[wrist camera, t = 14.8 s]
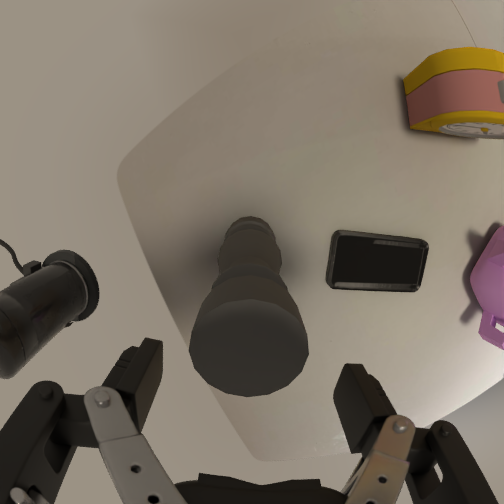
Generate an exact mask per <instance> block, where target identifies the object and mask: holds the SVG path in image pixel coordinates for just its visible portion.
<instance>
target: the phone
mask: <svg viewBox="0 0 504 504" xmlns="http://www.w3.org/2000/svg"><path fill="white" fill-rule="evenodd" d="M428 250H429V246H428V243H427V242H426V241H424V240H421V239H416V238H409V237H402V236H391V235H382V234H373V233H364V232H355V231H346V230H338V231H336V232H335V233H334V234H333V236H332V241H331V248H330V255H329V262H328V268H327V274H326V282H327V284H328V285H329V286H330V288H332V289H342V290H363V291H388V292H416V291H417V290H418V289H419V288H420V286H421V282H422V278H423V273H424V269H425V264H426V260H427V255H428Z"/></svg>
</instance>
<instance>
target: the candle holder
mask: <svg viewBox="0 0 504 504" xmlns="http://www.w3.org/2000/svg"><path fill="white" fill-rule="evenodd" d="M281 264H282V260H281V253H280V249H279V248H278V246H277V244H276V240H275V236H274V233H273V231H272V230H271V228H270V226H269V225H268V224H267V223H266V222H265V221H263V220H262V219H260V218H256V217H252V216H249V217H243V218H240V219H239V220H237V221H235V222H234V223H233V224H232V225H231V227H230V228H229V229H228V231H227V233H226V235H225V240H224V244H223V245H222V246H221V248H220V252H219V257H218V265H219V270H220V275H219V277H218V278H217V280H216V281H215V282H214V284H213V286H212V290H211V292H210V293H209V295H208V296H207V297H206V299H205V300H204V301H203V303H202V305H201V308H200V310H199V313H198V316H197V319H196V321H195V324H194V327H193V330H192V334H191V340H190V346H189V353H190V356H191V359H192V362H193V365H194V368H195V370H196V371H197V372H198V373H199V374H200V375H201V376H202V378H203V379H204V380H205V381H206V382H207V383H208V384H210V385H211V386H213V387H215V388H217V389H219V390H221V391H223V392H225V393H227V394H233V395H238V396H244V397H252V396H261V395H268V394H271V393H273V392H275V391H277V390H279V389H282V388H284V387H286V386H288V385H289V384H290V383H291V382H292V381H293V380H294V379H295V378H296V377H297V376H298V375H299V374H300V373H301V372H302V370H303V367H304V365H305V362H306V360H307V357H308V355H309V351H308V339H307V333H306V330H305V327H304V324H303V321H302V318H301V315H300V313H299V310H298V307H297V305H296V303H295V302H294V300H293V299H292V297H291V295H290V294H289V292H288V290H287V287H286V285H285V283H284V282H283V280H282V278H281V277H280V275H279V272H280V268H281Z"/></svg>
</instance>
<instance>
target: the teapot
mask: <svg viewBox="0 0 504 504" xmlns="http://www.w3.org/2000/svg"><path fill="white" fill-rule="evenodd" d="M470 282H471V286H472V289H473V291H474V294H475V296H476V298H477V300H478V302H479V304H480V306H481V307H482V309H483V314H482V319H481V324H480V328H479V332H478V333H479V334H480V336H481V337H482V339H484V340H486V341H488V342H490V343H491V344H493V345H495V346H497V347H499V348H501V349H503V350H504V333H502V332H501V331H499V330H498V329H496V328H495V326H496V322H497V323H498V324H500V325H502V326H504V226H502V227H500V228H498V229H497V230H496V232H495V233H494V235H493V236H492V238H491V239H490V241H489V243H488V244H487V246H486V248H485V249H484V251H483V253H482V254H481V256H480V258H479V260H478V261H477V263H476V265H475V267H474V268H473V270H472V273H471V275H470Z"/></svg>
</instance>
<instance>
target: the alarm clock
mask: <svg viewBox="0 0 504 504" xmlns="http://www.w3.org/2000/svg"><path fill="white" fill-rule="evenodd" d="M403 82H404V88H405V94H406V101H407V108H408V115H409V123H410V129H417V130H425V131H433V132H440V133H446V134H451V135H456V136H464V137H473V138H485V139H504V53H502V52H499V51H496V50H493V49H485V48H476V47H463V48H454V49H446V50H443V51H441V52H438V53H435V54H433V55H430V56H429V57H427V58H426V59H425V60H424V61H423V62H422V63H421V64H420V65H419V66H417V67H416V68H415V69H414V70H413V71H412V72H411V73H410V74H409V75H408V76H406V77H405V78H404V79H403Z"/></svg>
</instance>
